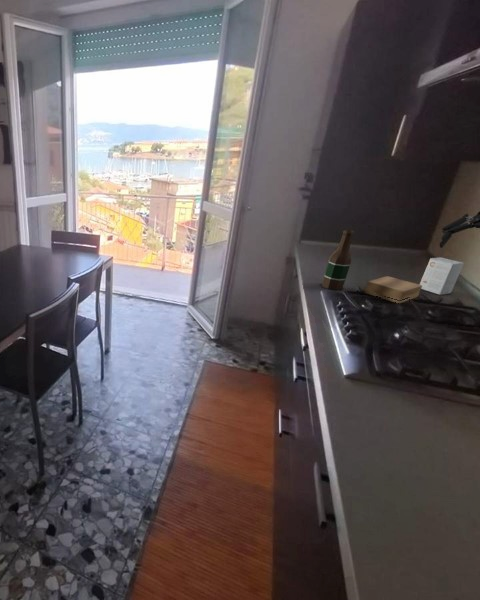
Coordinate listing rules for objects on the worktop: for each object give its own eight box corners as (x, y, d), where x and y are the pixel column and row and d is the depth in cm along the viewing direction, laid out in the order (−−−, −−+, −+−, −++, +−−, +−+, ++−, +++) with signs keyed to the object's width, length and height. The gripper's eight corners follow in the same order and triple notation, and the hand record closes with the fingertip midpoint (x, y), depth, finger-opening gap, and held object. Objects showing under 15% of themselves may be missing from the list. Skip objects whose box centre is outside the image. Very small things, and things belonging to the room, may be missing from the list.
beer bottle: (346, 291, 146) (365, 233, 137) (325, 289, 148) (343, 232, 138) (337, 284, 153) (354, 229, 144) (317, 283, 155) (333, 228, 145)
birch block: (417, 297, 141) (422, 285, 139) (398, 303, 135) (403, 291, 133) (382, 287, 150) (386, 275, 148) (364, 292, 145) (368, 281, 143)
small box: (451, 293, 144) (465, 262, 138) (439, 295, 142) (453, 264, 137) (428, 286, 151) (441, 257, 146) (417, 287, 149) (429, 258, 144)
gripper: (540, 220, 136) (505, 263, 136) (455, 210, 157) (424, 247, 157) (542, 207, 132) (506, 252, 132) (454, 199, 152) (423, 237, 152)
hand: (462, 249), depth 144 cm, fingers open, 13 cm apart
